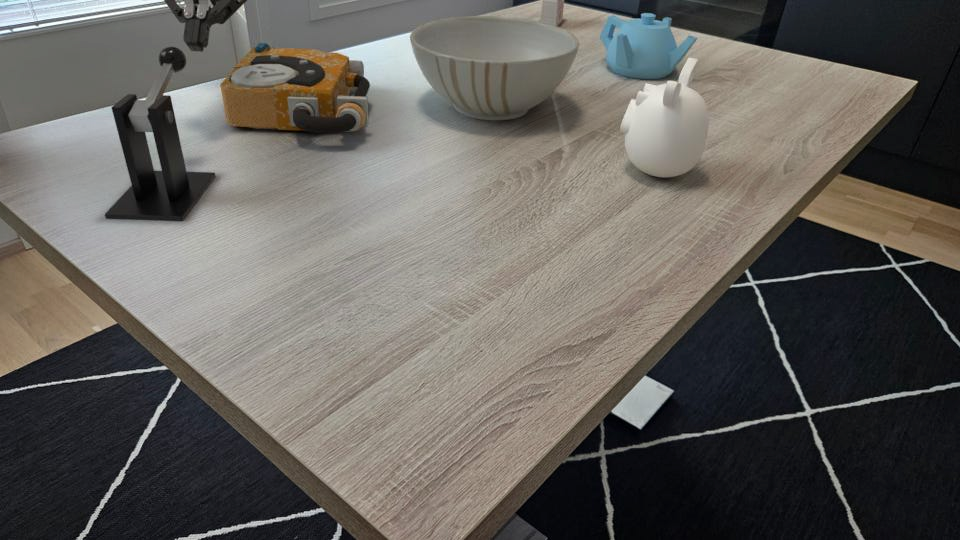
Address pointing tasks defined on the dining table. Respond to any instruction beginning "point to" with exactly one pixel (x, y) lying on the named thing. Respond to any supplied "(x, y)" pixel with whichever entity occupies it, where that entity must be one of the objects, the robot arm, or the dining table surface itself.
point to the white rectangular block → (552, 12)
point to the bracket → (153, 190)
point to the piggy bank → (666, 126)
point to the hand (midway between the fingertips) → (194, 48)
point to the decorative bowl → (493, 62)
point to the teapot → (643, 47)
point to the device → (296, 91)
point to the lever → (157, 87)
